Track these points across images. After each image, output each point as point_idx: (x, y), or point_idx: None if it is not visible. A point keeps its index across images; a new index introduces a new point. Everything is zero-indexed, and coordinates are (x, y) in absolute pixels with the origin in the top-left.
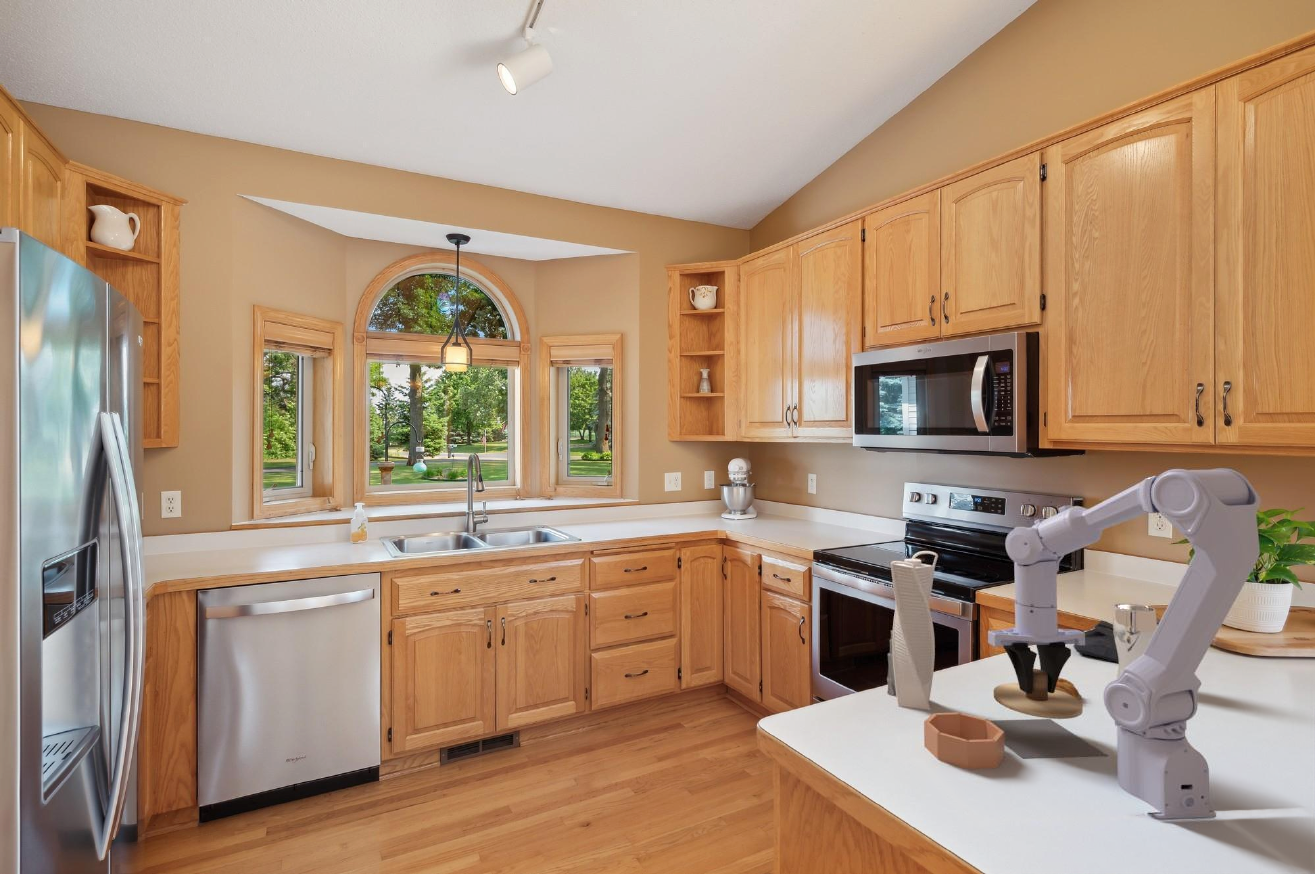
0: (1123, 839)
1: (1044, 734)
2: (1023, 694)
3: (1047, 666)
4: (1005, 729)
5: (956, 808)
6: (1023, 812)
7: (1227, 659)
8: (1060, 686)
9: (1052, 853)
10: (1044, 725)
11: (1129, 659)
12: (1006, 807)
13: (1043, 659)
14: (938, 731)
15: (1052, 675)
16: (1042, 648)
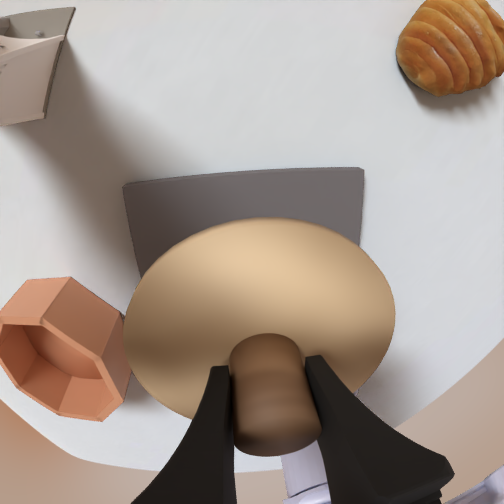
0: None
1: None
2: (230, 339)
3: (332, 450)
4: None
5: (62, 421)
6: (127, 435)
7: None
8: (484, 57)
9: (136, 464)
10: (319, 213)
11: None
12: (111, 428)
13: (341, 460)
14: (16, 383)
15: (319, 445)
16: (358, 502)
